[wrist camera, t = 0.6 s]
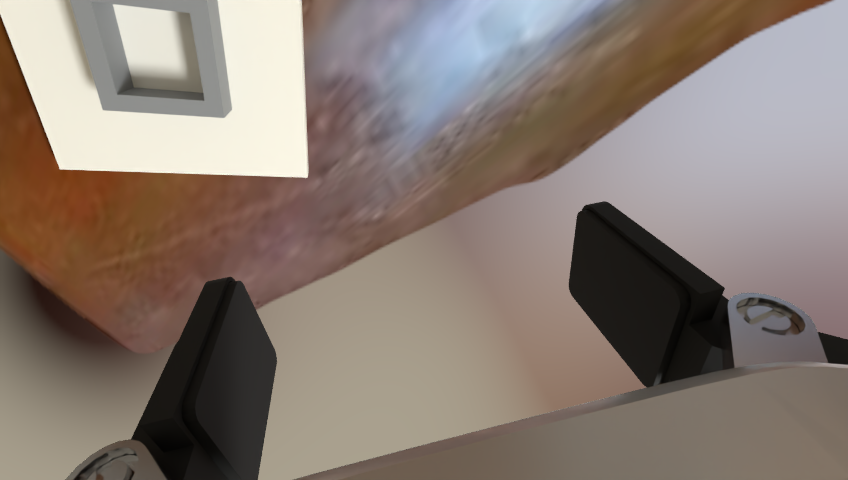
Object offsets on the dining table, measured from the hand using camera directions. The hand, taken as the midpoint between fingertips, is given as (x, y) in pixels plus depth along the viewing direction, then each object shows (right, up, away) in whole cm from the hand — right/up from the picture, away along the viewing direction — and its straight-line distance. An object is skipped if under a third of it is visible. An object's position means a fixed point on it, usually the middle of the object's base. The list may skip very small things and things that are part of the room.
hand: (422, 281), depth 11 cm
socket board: (-20, +17, +20) cm, 33 cm away
